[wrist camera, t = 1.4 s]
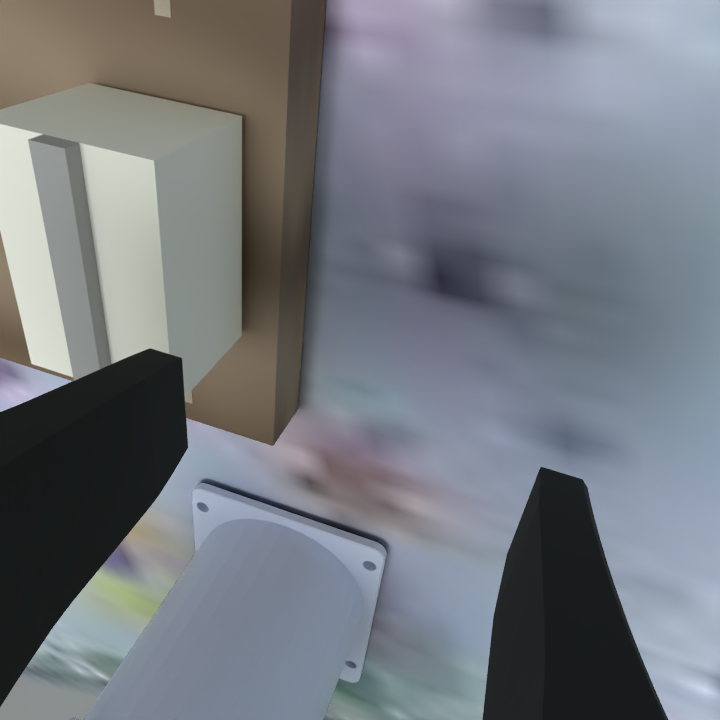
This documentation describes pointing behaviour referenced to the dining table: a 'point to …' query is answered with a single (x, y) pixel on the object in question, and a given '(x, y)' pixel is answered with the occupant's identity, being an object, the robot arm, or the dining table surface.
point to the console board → (259, 156)
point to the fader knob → (122, 228)
